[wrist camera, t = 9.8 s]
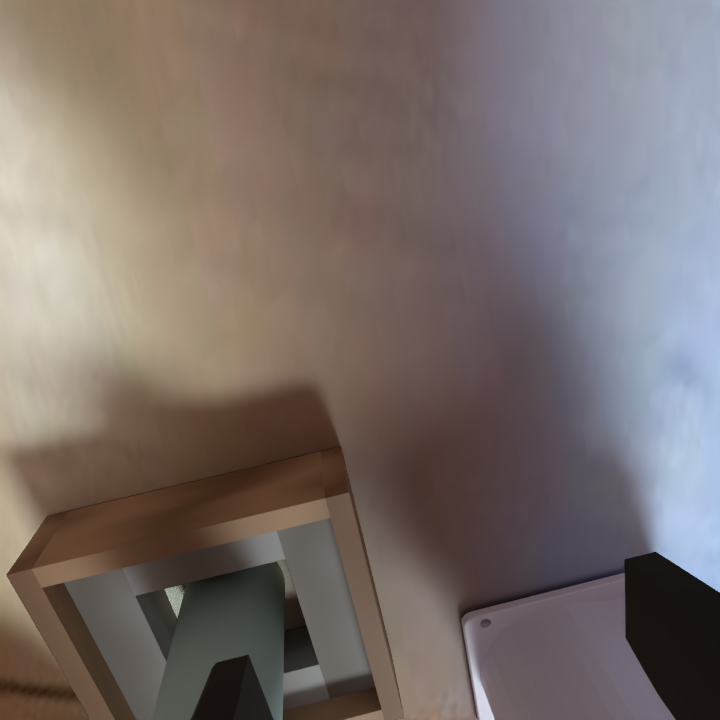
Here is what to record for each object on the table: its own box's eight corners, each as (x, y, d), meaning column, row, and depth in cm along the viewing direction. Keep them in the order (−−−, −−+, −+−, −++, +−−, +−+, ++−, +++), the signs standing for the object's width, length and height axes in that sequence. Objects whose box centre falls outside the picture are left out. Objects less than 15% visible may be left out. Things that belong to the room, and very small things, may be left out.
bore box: (341, 446, 20) (349, 492, 17) (391, 653, 24) (404, 718, 21) (47, 516, 19) (6, 574, 17) (149, 715, 24) (130, 789, 21)
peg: (275, 540, 21) (264, 786, 13) (292, 614, 23) (292, 880, 14) (175, 558, 21) (96, 822, 12) (199, 633, 22) (142, 914, 14)
